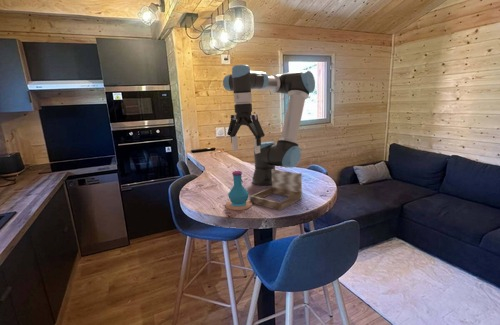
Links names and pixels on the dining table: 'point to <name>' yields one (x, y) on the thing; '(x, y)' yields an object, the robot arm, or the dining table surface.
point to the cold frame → (281, 190)
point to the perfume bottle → (238, 191)
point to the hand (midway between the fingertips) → (246, 151)
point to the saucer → (231, 207)
